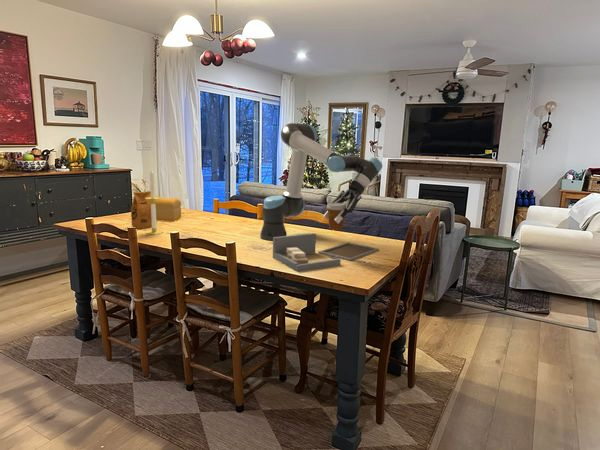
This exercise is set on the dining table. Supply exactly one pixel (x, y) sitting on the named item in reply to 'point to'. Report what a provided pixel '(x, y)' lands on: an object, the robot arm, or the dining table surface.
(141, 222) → the coffee package
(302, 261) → the offcut stack
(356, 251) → the empty picture frame
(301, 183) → the robot arm
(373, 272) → the dining table surface
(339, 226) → the disposable coffee cup
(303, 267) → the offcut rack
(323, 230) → the dining table surface
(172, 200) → the bread
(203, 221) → the dining table surface
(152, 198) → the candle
